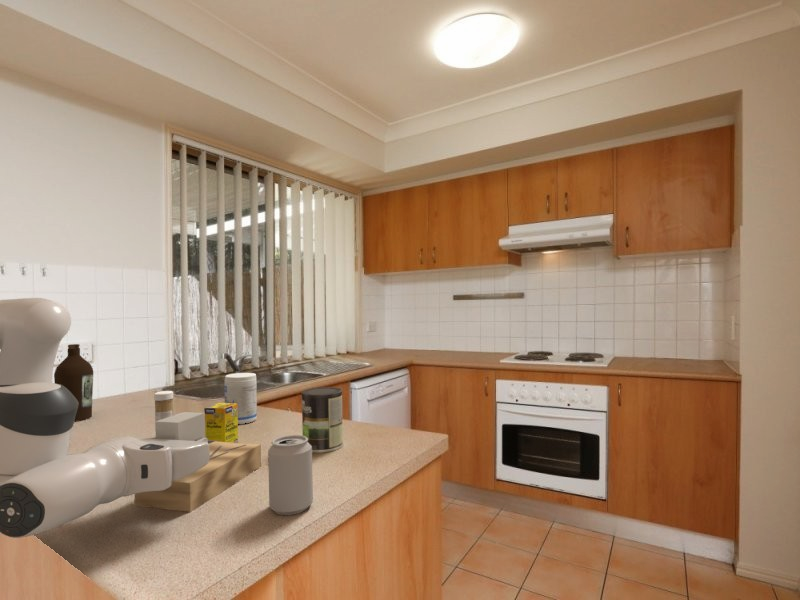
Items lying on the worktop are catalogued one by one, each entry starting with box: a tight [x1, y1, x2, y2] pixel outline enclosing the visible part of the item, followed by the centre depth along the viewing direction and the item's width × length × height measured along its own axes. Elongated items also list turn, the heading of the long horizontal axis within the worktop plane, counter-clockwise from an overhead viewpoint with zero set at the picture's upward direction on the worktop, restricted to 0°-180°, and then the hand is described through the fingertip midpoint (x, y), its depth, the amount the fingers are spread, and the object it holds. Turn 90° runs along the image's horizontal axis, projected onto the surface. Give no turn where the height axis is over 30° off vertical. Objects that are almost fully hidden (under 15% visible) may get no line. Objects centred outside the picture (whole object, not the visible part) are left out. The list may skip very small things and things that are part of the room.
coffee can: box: [300, 386, 344, 454], centre depth 112 cm, size 10×10×14 cm
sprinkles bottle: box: [153, 390, 174, 432], centre depth 119 cm, size 5×5×13 cm
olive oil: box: [53, 343, 94, 423], centre depth 148 cm, size 11×11×25 cm
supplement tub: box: [224, 372, 258, 425], centre depth 139 cm, size 10×10×15 cm
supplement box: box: [203, 402, 239, 444], centre depth 113 cm, size 6×6×11 cm
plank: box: [134, 441, 262, 513], centre depth 89 cm, size 22×12×5 cm, turn 165°
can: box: [267, 434, 314, 516], centre depth 78 cm, size 8×8×12 cm
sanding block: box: [154, 411, 205, 441], centre depth 84 cm, size 7×5×10 cm
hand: (183, 440), depth 84 cm, fingers open, 8 cm apart
